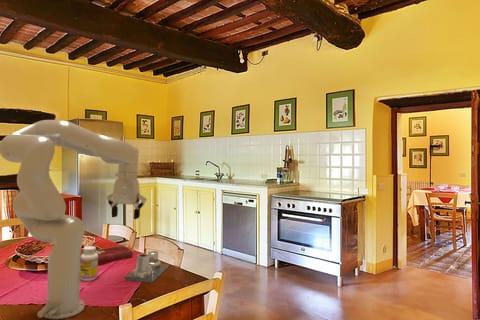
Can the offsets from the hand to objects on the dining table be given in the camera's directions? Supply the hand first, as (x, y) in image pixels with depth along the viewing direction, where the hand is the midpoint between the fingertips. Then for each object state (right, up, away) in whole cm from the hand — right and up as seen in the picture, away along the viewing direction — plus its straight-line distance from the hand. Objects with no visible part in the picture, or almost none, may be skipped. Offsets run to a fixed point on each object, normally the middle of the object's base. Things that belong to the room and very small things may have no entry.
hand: (125, 217), depth 139 cm
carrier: (+7, -26, +9) cm, 28 cm away
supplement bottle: (-15, -26, +1) cm, 30 cm away
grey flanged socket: (+6, -24, +3) cm, 25 cm away
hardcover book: (-18, -25, +27) cm, 41 cm away
